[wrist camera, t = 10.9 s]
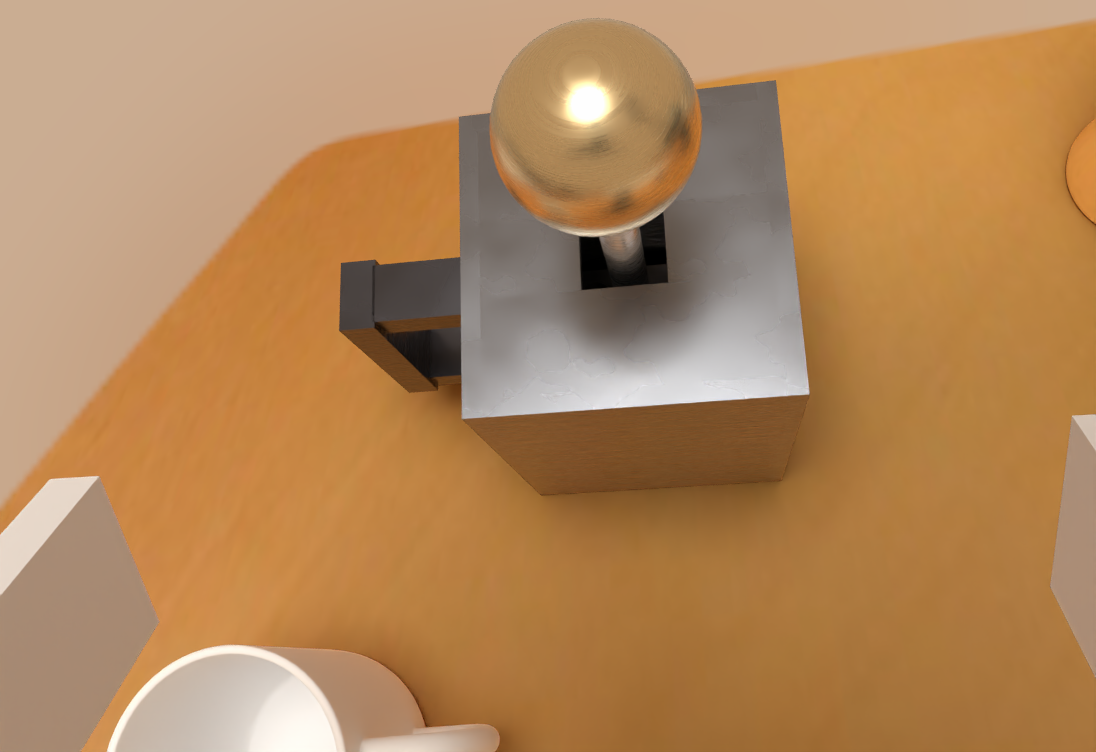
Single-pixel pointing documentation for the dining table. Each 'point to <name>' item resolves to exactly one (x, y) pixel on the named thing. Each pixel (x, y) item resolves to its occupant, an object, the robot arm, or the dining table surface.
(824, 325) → the dining table surface
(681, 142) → the plunger
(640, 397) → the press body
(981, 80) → the dining table surface
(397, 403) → the dining table surface
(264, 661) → the cup
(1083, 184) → the beer glass
